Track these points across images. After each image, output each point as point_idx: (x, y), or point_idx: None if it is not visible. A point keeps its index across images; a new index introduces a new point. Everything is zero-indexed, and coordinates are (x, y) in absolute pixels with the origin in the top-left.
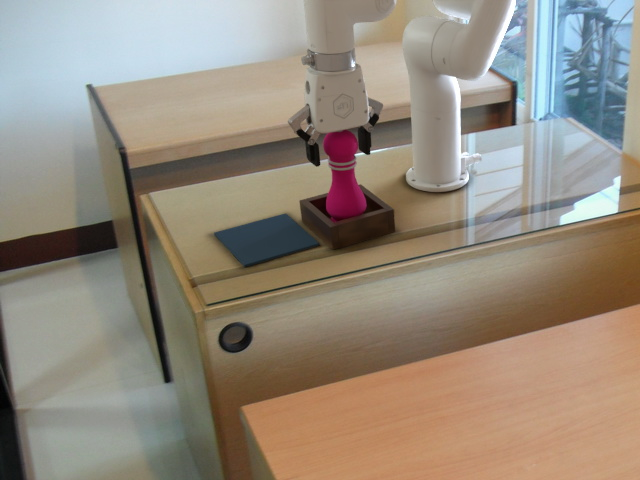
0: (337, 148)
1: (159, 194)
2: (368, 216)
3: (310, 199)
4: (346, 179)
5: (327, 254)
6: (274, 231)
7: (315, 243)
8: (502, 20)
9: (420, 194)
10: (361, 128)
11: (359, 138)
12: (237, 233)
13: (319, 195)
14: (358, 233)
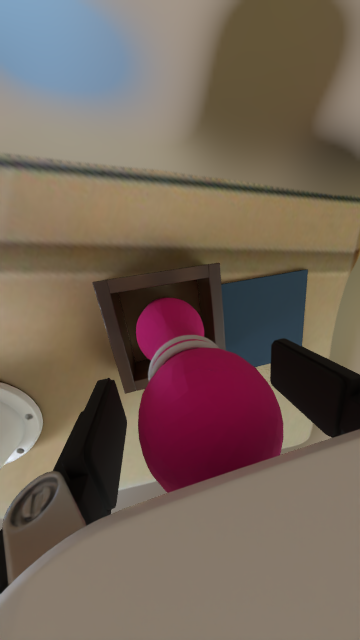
0: (248, 367)
1: (302, 441)
2: (148, 274)
3: None
4: (183, 331)
5: (215, 256)
6: (251, 336)
7: (221, 286)
8: None
9: (29, 382)
10: (95, 511)
11: (118, 456)
12: None
13: None
14: (167, 270)
